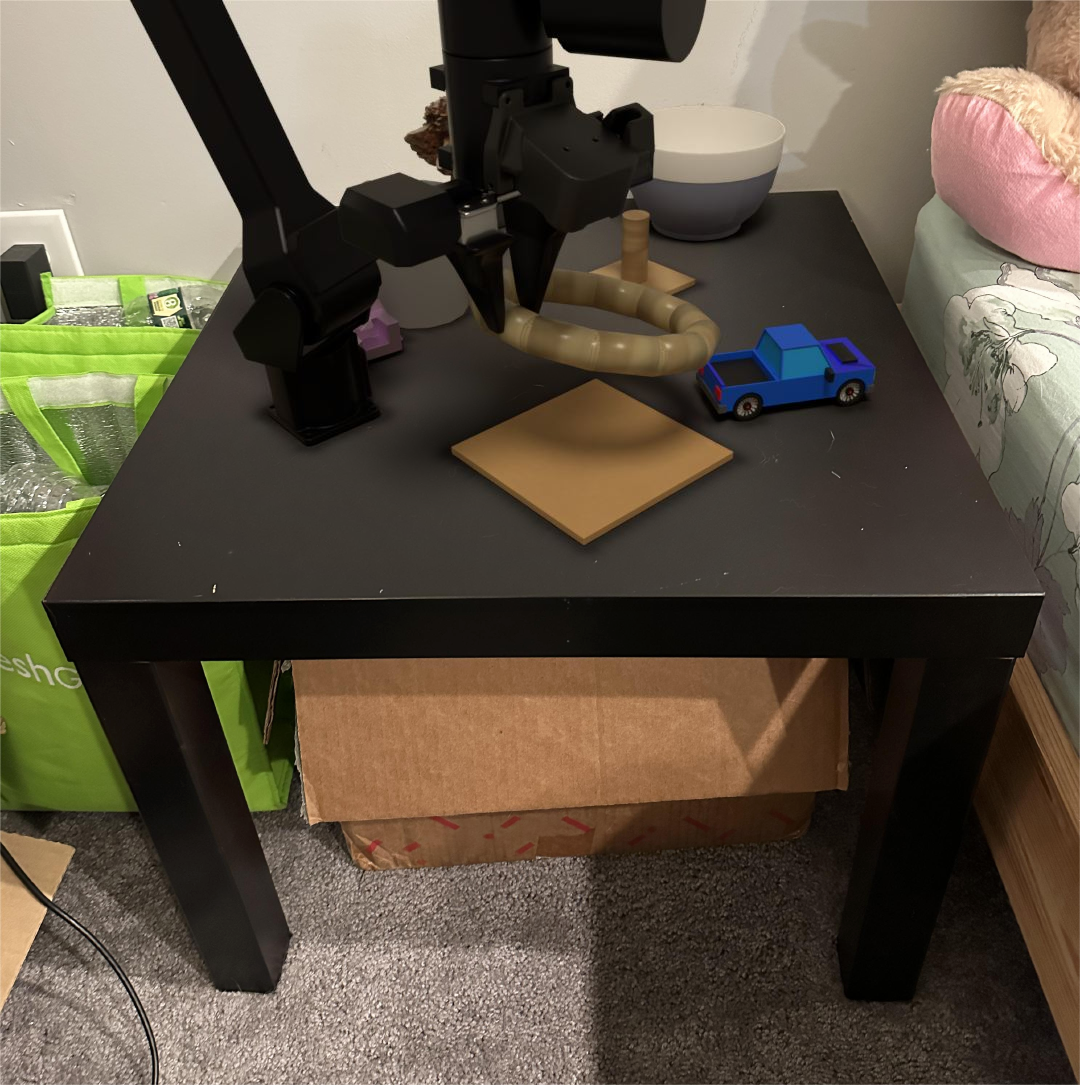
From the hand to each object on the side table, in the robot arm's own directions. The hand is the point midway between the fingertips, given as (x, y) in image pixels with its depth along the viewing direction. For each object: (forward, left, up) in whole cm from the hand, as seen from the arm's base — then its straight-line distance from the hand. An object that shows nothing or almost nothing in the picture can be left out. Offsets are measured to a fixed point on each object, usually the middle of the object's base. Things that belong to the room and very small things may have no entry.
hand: (513, 324), depth 59 cm
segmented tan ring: (+7, 0, -2) cm, 7 cm away
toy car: (+21, -6, -11) cm, 24 cm away
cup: (+10, +26, -11) cm, 30 cm away
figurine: (+20, +33, -11) cm, 40 cm away
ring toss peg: (+27, +16, -11) cm, 33 cm away
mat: (+5, -2, -11) cm, 12 cm away
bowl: (+42, +22, -11) cm, 48 cm away
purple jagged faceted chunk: (+2, +24, -11) cm, 27 cm away
